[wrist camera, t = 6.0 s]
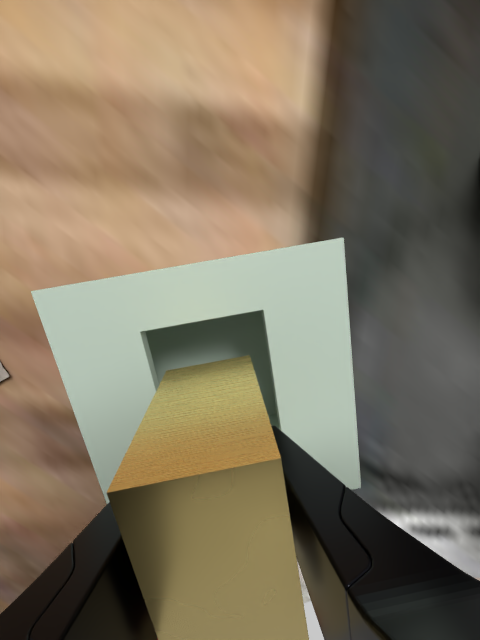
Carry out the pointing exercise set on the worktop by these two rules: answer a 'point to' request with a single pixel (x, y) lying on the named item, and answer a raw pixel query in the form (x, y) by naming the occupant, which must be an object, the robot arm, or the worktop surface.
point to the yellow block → (210, 510)
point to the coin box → (212, 346)
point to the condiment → (3, 373)
